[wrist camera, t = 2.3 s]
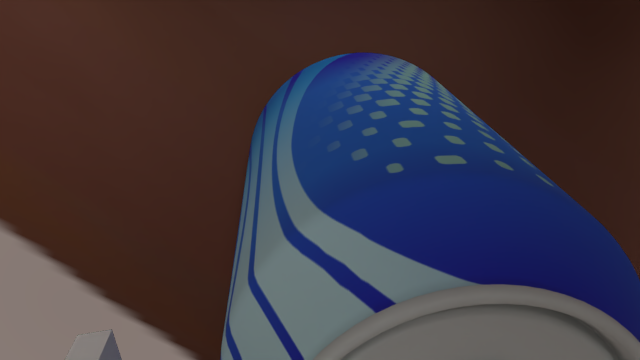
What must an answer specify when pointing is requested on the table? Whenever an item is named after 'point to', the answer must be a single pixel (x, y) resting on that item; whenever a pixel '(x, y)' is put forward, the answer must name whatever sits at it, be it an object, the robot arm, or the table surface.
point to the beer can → (412, 234)
